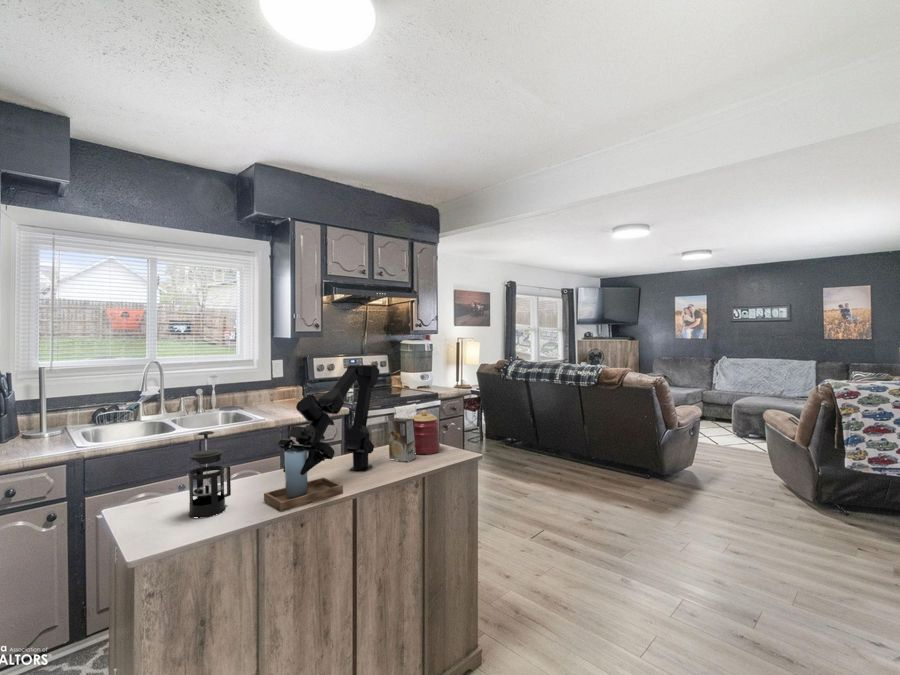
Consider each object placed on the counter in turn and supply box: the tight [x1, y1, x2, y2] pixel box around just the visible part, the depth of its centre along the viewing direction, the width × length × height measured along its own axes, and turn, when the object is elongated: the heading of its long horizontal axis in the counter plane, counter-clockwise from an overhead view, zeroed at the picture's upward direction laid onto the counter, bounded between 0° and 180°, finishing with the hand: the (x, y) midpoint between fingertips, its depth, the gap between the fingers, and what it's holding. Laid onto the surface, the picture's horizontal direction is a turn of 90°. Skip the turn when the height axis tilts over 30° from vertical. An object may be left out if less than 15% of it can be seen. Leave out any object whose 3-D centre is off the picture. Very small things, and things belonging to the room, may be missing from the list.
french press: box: [187, 430, 232, 519], centre depth 129 cm, size 12×9×23 cm
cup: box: [284, 448, 308, 497], centre depth 137 cm, size 6×6×13 cm
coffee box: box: [387, 417, 416, 462], centre depth 180 cm, size 9×6×16 cm
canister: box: [410, 409, 441, 455], centre depth 191 cm, size 13×13×18 cm
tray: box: [263, 477, 344, 513], centre depth 139 cm, size 20×12×2 cm, turn 135°
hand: (292, 473), depth 136 cm, fingers closed on cup, 6 cm apart
